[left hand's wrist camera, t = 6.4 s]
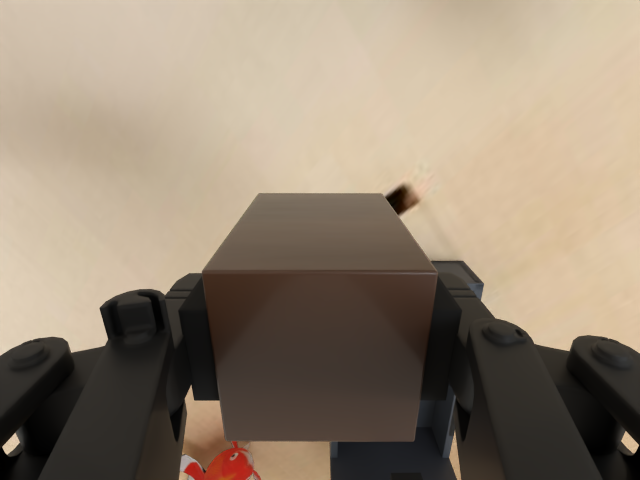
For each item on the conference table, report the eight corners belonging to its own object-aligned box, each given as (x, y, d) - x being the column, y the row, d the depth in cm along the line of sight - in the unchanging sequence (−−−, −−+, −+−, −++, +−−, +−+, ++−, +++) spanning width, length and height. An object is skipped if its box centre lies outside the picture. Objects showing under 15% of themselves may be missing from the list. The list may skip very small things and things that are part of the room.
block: (258, 192, 14) (200, 271, 7) (382, 193, 14) (439, 271, 7) (265, 300, 15) (224, 442, 9) (375, 301, 15) (415, 442, 9)
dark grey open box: (331, 260, 35) (335, 317, 26) (463, 260, 35) (515, 316, 26) (329, 427, 44) (331, 514, 34) (434, 427, 44) (466, 514, 34)
